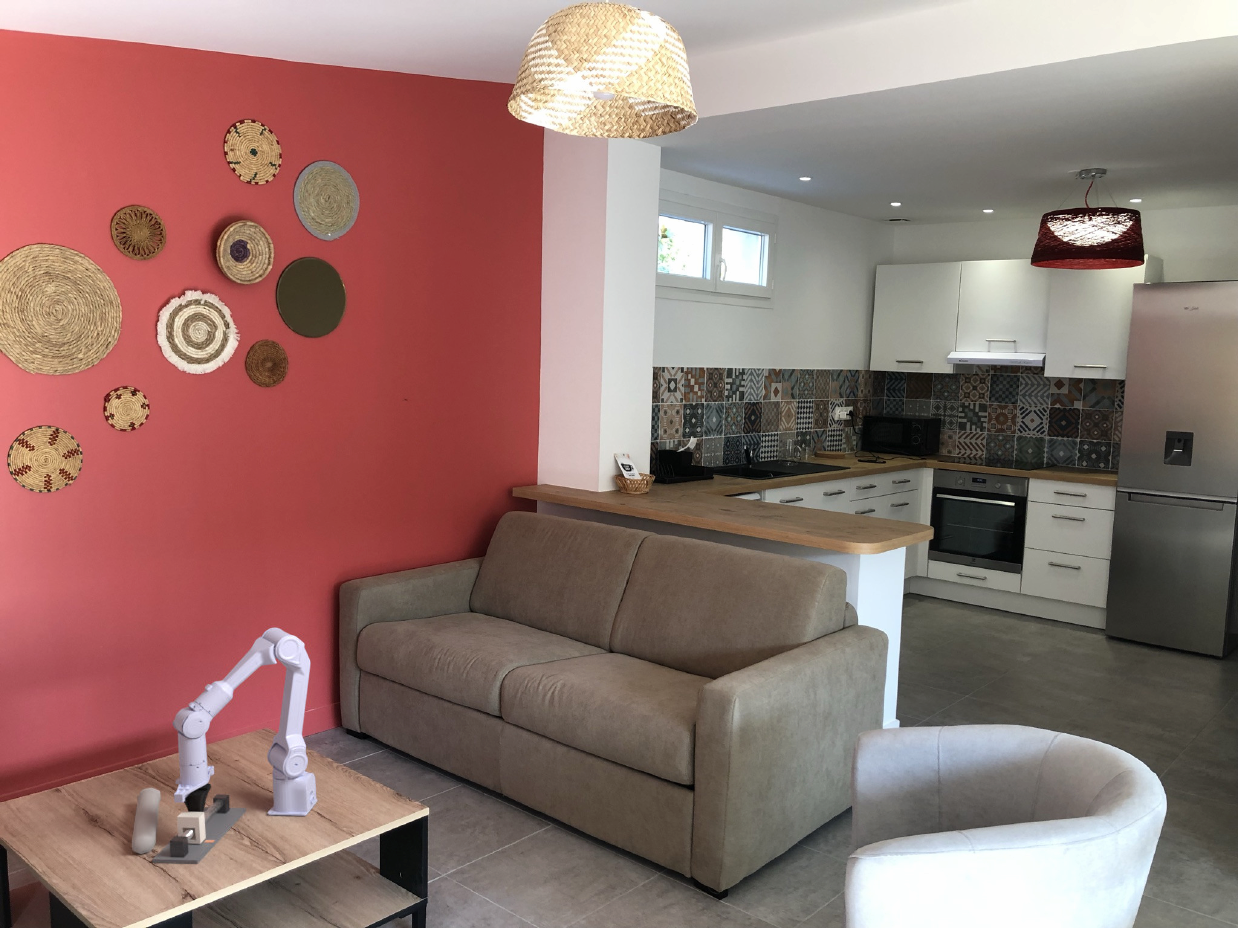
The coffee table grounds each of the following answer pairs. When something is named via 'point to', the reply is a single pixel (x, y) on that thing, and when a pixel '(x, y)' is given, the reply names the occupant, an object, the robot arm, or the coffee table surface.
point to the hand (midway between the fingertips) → (196, 818)
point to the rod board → (216, 827)
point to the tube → (146, 820)
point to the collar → (192, 825)
